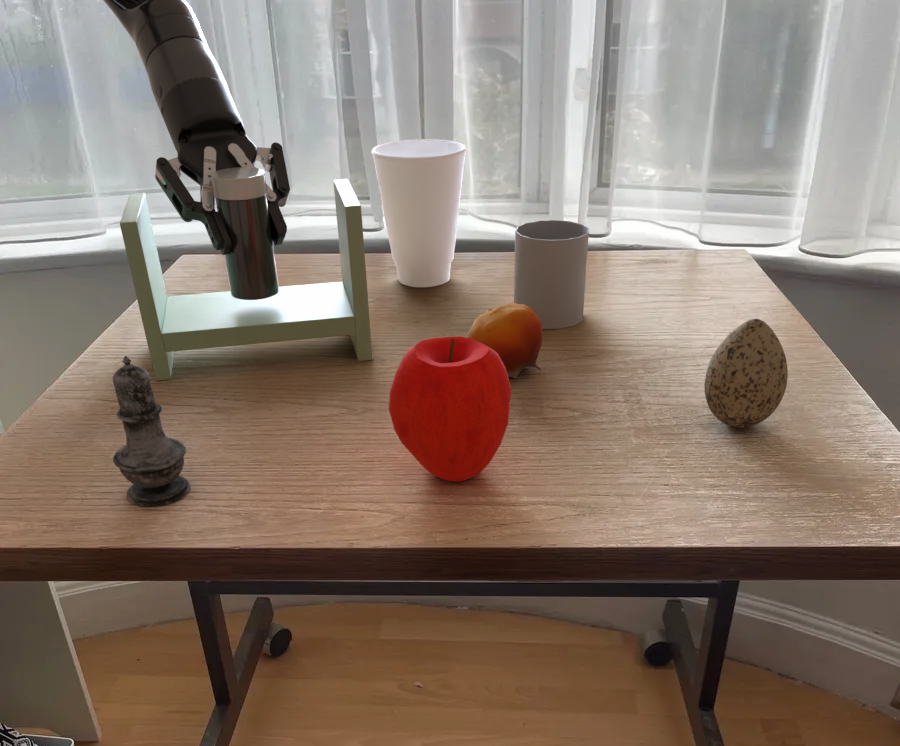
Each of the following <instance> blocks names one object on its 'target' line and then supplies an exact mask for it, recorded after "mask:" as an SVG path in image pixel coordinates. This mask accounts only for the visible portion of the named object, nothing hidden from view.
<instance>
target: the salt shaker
mask: <svg viewBox="0 0 900 746" xmlns="http://www.w3.org/2000/svg"><path fill="white" fill-rule="evenodd" d="M121 362H122V364H123V365H122V366H121V367H119V368H118V369H117V370H115V372H114V373H113V375H112V384H113V388H114V391H115V394H116V395H115V396H116V400H117V404H118V407H119V409H117V411H116V414H115V416H116V417H117V419H118V420H120V421H121V422H122V426H123V430H124V434H125V441H126V442H125V445H123V446H121V447H119V449H118V450H117V451H116V452H115V454H114V455H113V458H112V459H113V460H112V462H113V463H114V465H115V467H117V468H118V469H119V471H120V473H121V474H122V476H123V477H124V478H125V479H126V481H127V482H128V483H131V484H132V485H130V487H128V489H127V491H126V498H127V500H128V501H129V502H130V503H131V504H132V505H135V506H138V507H143V508H144V507H145V508H156V507H162V506H163V507H164V506H166V505H171V504H173V503H175V502H178V501H180V500H181V499H183V498H184V497H186V496H187V495H188V494H189V492H190V490H191V483H190V481H189V480H188V479H187V478H186V477H184V476H181V475H180V474H181V473H182V471H183V469H184V464H185V455H186V453H187V447H186V445H185V444H184V443H183V442H181V441H180V440H179V439H176V438H172V437H167V435H166V433H165V431H164V428H163V423H162V420H161V415H160V414H161V413H162V412H163V407H162V405H161V404H160V403H158V402H156V398H155V393H154V390H153V386H152V385H153V384H152V380H151V377H150V374H149V372H148V371H147V370H146V369H145V368H144V367H142V366H139V365H135V364H133V363H131V362H132V359H130V358H129V357H128V356H127V355H125V356H124V357H123V360H122V361H121Z"/></svg>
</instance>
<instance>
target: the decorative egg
mask: <svg viewBox="0 0 900 746" xmlns="http://www.w3.org/2000/svg"><path fill="white" fill-rule="evenodd" d="M788 373H789V372H788V362H787V357H786V354H785V350H784V348H783V346H782V344H781V341H780V339H779V338H778V336H777V335H776V333H775V332H774V330H773V329H772V328H771V327H770V325H769V324H767V322H765V321H764V320H763V319H760V318H751V319H748V320H746V321H744V322H743V323H741V324H740V325H739V326H737V327H736V328H734V329H733V330H732V331H731V332H730V333H729V334H728V335H727V336H726V337H725V338H723V340H722V342H721V343H720V344H719V346H718V347H717V348H716V350H715V351H714V353H713V354H712V357H711V359H710V361H709V363H708V365H707V369H706V372H705V377H704V384H703V385H704V386H703V388H704V389H703V390H704V396H705V401H706V404H707V406H708V409H709V411H710V412H711V414H712V415H713V416H714V417H715V418H716V419H717V420H719V422H721V423H722V424H724V425H726V426H729V427H731V428H739V429H743V428H751V427H754V426H756V425H759V424H760V423H762V422H764V421H765V420H767V419H768V418H769V417H770V416H772V415H773V414H774V413H775V411H776V410H777V409H778V407H779V405H780V404H781V402H782V400H783V398H784V396H785V393H786V390H787V387H788V386H787V385H788V378H789V374H788Z"/></svg>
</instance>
